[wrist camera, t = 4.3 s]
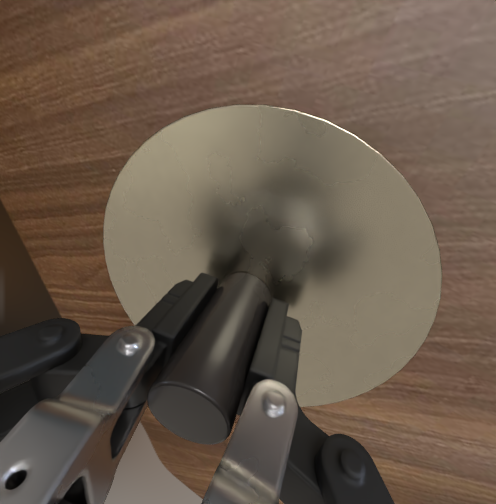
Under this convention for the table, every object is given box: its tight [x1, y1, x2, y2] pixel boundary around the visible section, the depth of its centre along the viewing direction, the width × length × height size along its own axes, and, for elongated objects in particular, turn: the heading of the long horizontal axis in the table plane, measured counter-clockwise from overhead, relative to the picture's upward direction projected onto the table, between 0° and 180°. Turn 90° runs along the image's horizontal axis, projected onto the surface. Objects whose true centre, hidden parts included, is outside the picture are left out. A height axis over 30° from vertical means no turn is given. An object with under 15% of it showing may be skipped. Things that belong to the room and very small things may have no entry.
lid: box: [103, 104, 442, 444], centre depth 9 cm, size 15×15×7 cm
